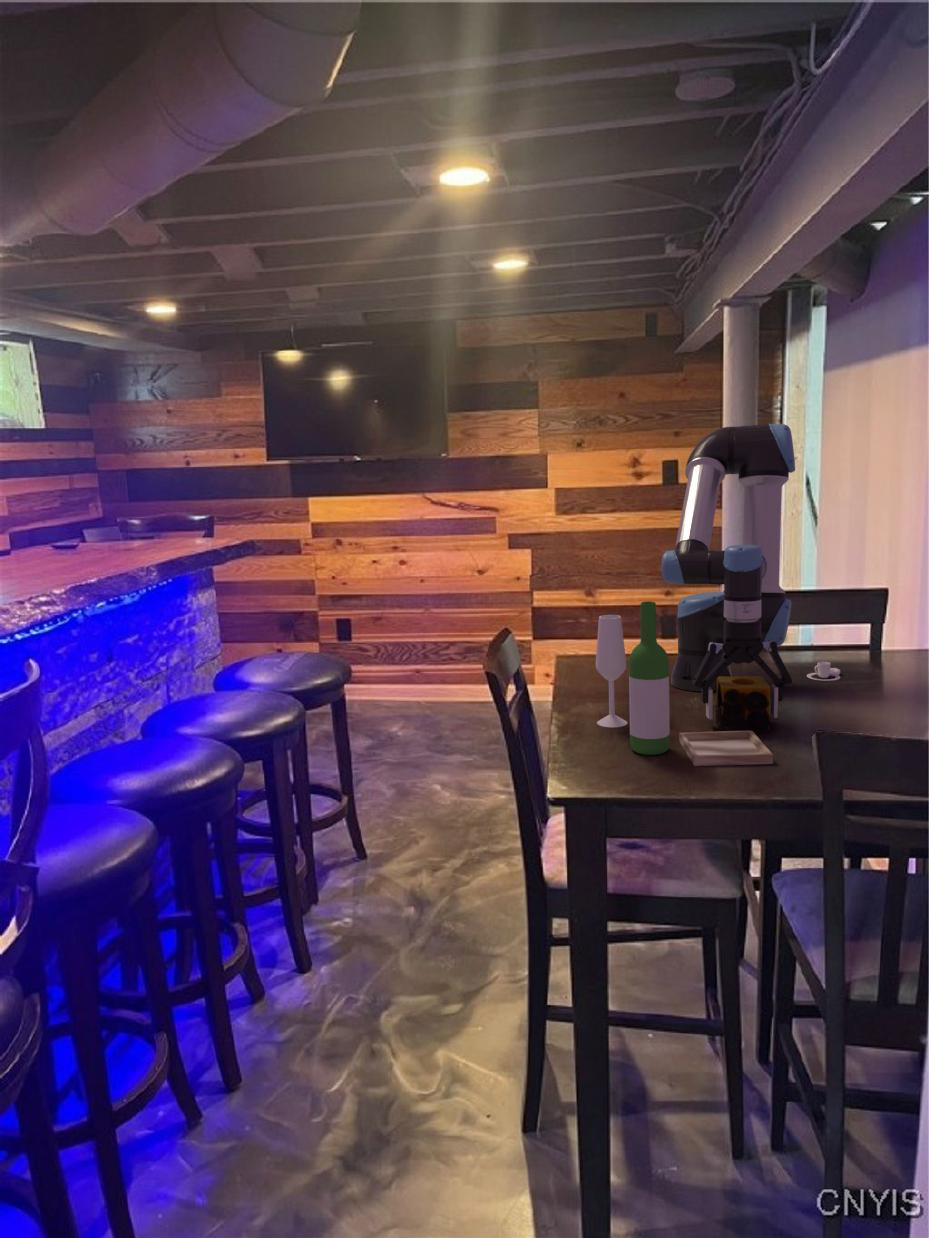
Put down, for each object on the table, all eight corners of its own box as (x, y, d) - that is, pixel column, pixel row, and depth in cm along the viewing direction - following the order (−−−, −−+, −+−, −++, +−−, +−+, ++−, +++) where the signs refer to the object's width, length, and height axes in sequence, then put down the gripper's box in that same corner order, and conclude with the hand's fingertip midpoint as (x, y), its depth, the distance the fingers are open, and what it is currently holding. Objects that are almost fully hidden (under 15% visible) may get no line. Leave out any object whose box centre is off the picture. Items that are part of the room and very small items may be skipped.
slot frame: (679, 741, 174) (679, 732, 174) (751, 738, 173) (751, 730, 173) (694, 765, 160) (694, 756, 160) (773, 763, 159) (773, 754, 159)
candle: (719, 733, 178) (720, 687, 176) (714, 719, 188) (714, 675, 186) (770, 733, 176) (771, 687, 174) (762, 719, 186) (762, 675, 184)
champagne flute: (591, 721, 190) (588, 616, 186) (616, 716, 193) (614, 612, 189) (607, 729, 184) (605, 620, 180) (633, 724, 187) (631, 617, 182)
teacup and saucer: (835, 673, 221) (836, 658, 221) (848, 681, 214) (849, 665, 213) (801, 675, 222) (802, 660, 221) (813, 682, 214) (813, 667, 213)
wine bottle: (645, 759, 165) (643, 607, 159) (622, 747, 172) (619, 602, 167) (677, 752, 168) (677, 602, 162) (654, 741, 175) (652, 598, 170)
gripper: (685, 624, 175) (685, 723, 178) (809, 620, 173) (807, 720, 177) (678, 618, 182) (679, 713, 186) (797, 614, 181) (795, 710, 184)
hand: (741, 716), depth 181 cm, fingers open, 13 cm apart
